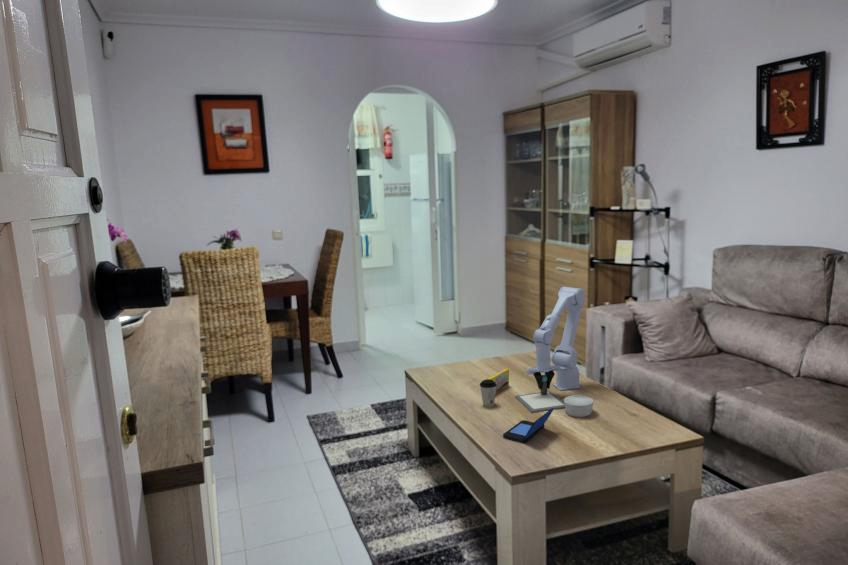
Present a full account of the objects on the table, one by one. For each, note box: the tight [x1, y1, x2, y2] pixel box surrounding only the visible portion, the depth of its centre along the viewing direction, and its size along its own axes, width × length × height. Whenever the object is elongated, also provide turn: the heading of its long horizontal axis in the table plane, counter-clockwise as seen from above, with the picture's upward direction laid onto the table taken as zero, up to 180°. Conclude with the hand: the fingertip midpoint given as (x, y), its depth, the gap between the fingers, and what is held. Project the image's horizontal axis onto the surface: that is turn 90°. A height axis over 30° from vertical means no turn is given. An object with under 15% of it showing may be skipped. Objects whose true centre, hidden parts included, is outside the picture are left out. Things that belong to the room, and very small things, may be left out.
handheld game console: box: [502, 408, 554, 444], centre depth 207 cm, size 16×13×9 cm
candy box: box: [487, 368, 510, 395], centre depth 251 cm, size 16×2×8 cm, turn 143°
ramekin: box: [563, 394, 594, 418], centre depth 224 cm, size 11×11×5 cm
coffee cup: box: [479, 378, 496, 408], centre depth 236 cm, size 7×7×10 cm
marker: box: [540, 374, 548, 395], centre depth 243 cm, size 3×3×8 cm
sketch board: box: [514, 390, 565, 414], centre depth 237 cm, size 16×18×1 cm
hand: (543, 388), depth 243 cm, fingers closed on marker, 3 cm apart
